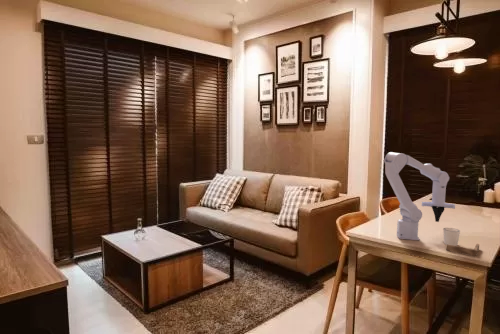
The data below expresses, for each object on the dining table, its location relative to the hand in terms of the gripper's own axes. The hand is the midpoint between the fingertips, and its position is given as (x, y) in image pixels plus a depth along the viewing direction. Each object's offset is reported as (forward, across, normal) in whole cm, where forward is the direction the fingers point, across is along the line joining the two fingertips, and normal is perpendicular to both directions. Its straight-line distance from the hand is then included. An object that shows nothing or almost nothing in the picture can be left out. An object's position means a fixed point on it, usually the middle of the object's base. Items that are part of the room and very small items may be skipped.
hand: (437, 221), depth 169 cm
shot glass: (+8, +5, -10) cm, 14 cm away
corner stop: (+8, +11, -20) cm, 24 cm away
